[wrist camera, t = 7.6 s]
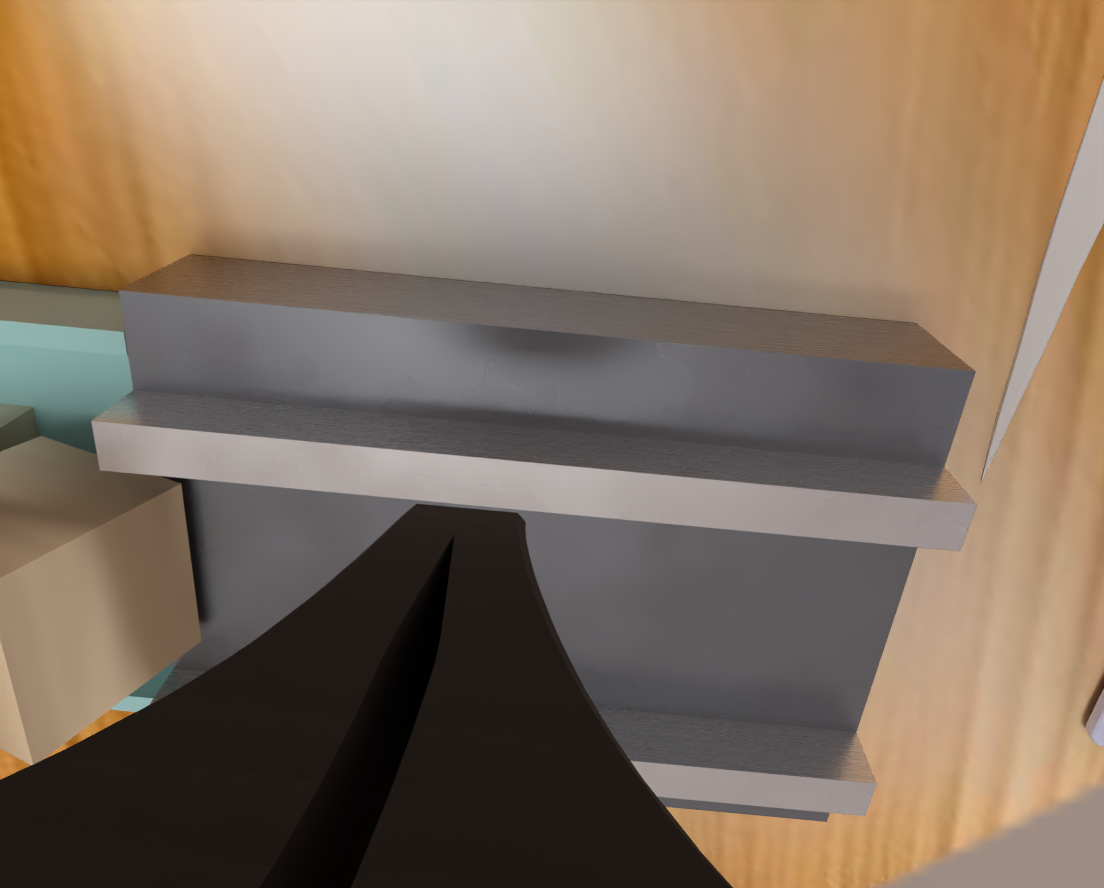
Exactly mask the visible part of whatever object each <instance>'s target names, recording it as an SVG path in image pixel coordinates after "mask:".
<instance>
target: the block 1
mask: <svg viewBox="0 0 1104 888" xmlns="http://www.w3.org/2000/svg"><path fill="white" fill-rule="evenodd" d="M37 437H40V436H39V431H38V427H37V422H36V417H35V412H34V407H30V406H19V405H8V404H0V452H1V451H3V450H6V449H9V448H11V447H14V446H16V445H19V444H22V443H24V442H27V441H29V440H32V439H34V438H37Z"/></svg>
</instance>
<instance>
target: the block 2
mask: <svg viewBox="0 0 1104 888" xmlns="http://www.w3.org/2000/svg"><path fill="white" fill-rule="evenodd" d="M200 642H201V633H200V626H199V618H198V610H197V602H196V595H195V587H194V579H193V572H192V564H191V556H190V548H189V541H188V533H187V525H186V517H185V510H184V502H183V494H182V486H181V483H178V482H175V481H172V480H169V479H166V478H163V477H160V476H156V475H145V474H134V473H124V472H113V471H102V470H100V468H99V463H98V457H97V455H96V454H93V453H90V452H87V451H84V450H81V449H78V448H75V447H73V446H70V445H67V444H64V443H61V442H58V441H55V440H52V439H49V438H46V437H43V436H40V437H37V438H34V439H32V440H29V441H27V442H24V443H22V444H19V445H16V446H14V447H11V448H9V449H6V450H3V451H1V452H0V749H2V750H4V751H6V752H8V753H10V754H11V755H13V756H15V757H17V758H19V759H21V760H23V761H25V762H26V763H28V764H30V765H33V764H35V763H38V762H40V761H41V760H43V759H44V758H46V757H47V756H48V755H50V754H51V753H52V752H54V751H55V750H56V749H58V748H59V747H60V746H62V745H63V744H64V743H66V742H67V741H68V740H70V739H71V738H72V737H74V736H75V735H76V734H78V733H79V732H80V731H82V730H83V729H84V728H86V727H87V726H88V725H90V724H91V723H92V722H94V721H95V720H96V719H98V718H99V717H100V716H102V715H103V714H104V713H106V712H107V711H108V710H110V709H111V708H112V707H114V706H115V705H116V704H118V703H119V702H121V701H122V700H123V699H125V698H126V697H127V696H129V695H130V694H131V693H133V692H134V691H135V690H137V689H138V688H139V687H141V686H142V685H143V684H145V683H146V682H147V681H149V680H150V679H151V678H153V677H154V676H155V675H157V674H158V673H159V672H161V671H162V670H163V669H165V668H166V667H167V666H169V665H170V664H171V663H173V662H174V661H175V660H177V659H178V658H179V657H181V656H182V655H183V654H185V653H186V652H187V651H189V650H190V649H191V648H193V647H194V646H195V645H197V644H198V643H200Z"/></svg>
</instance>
